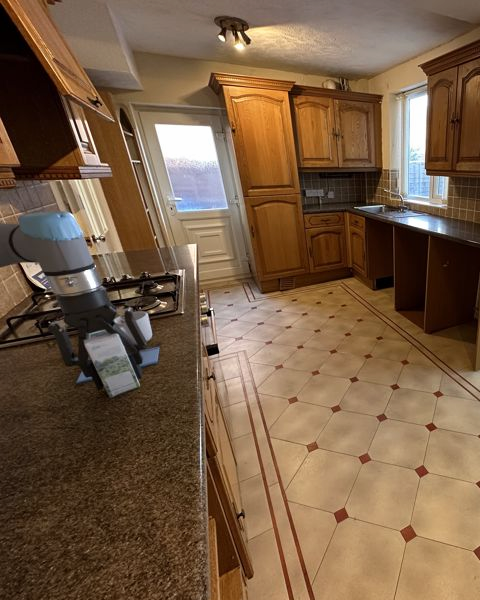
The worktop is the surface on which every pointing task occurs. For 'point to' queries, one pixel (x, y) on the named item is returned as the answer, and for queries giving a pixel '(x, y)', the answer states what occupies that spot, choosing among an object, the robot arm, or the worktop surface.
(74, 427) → the worktop surface
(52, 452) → the worktop surface
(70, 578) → the worktop surface
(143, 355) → the cloth
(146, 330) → the cup
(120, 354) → the syrup box
